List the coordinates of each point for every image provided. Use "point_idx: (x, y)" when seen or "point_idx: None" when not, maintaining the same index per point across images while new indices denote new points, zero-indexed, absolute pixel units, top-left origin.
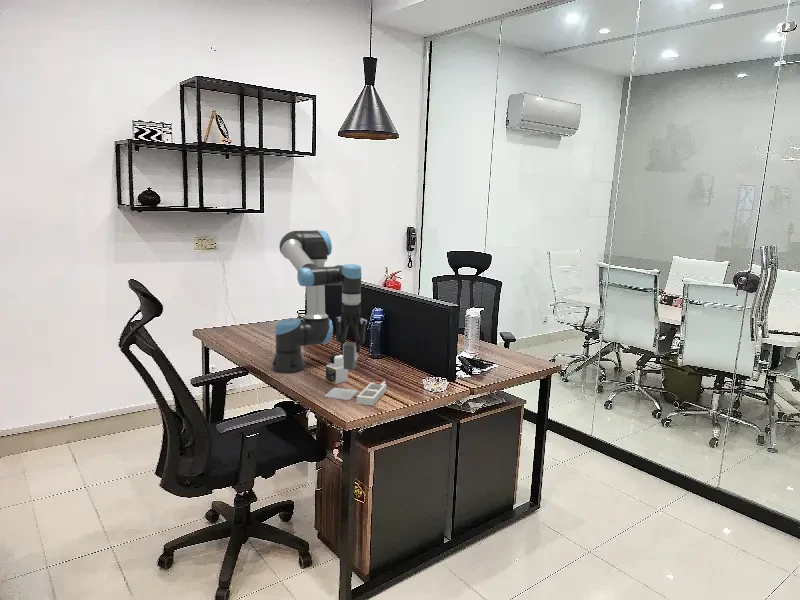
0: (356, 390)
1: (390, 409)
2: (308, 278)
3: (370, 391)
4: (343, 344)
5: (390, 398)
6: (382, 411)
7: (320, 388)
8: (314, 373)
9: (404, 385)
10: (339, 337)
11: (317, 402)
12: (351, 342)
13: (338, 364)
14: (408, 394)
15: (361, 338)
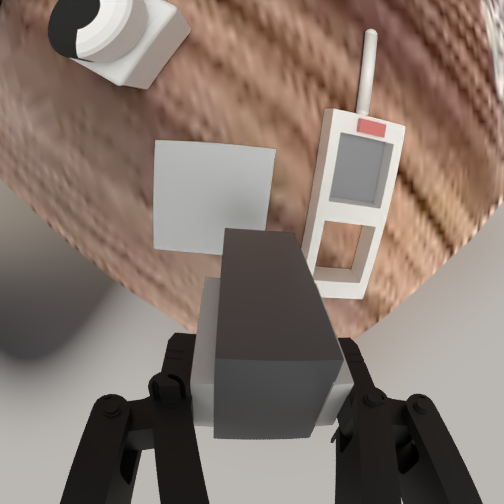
0: (266, 151)
1: (403, 295)
2: None
3: (346, 222)
4: (198, 422)
5: (409, 204)
6: (380, 315)
7: (103, 158)
8: (37, 10)
9: (443, 58)
10: (110, 433)
11: (155, 297)
12: (267, 363)
13: (121, 52)
14: (461, 155)
15: (404, 476)
